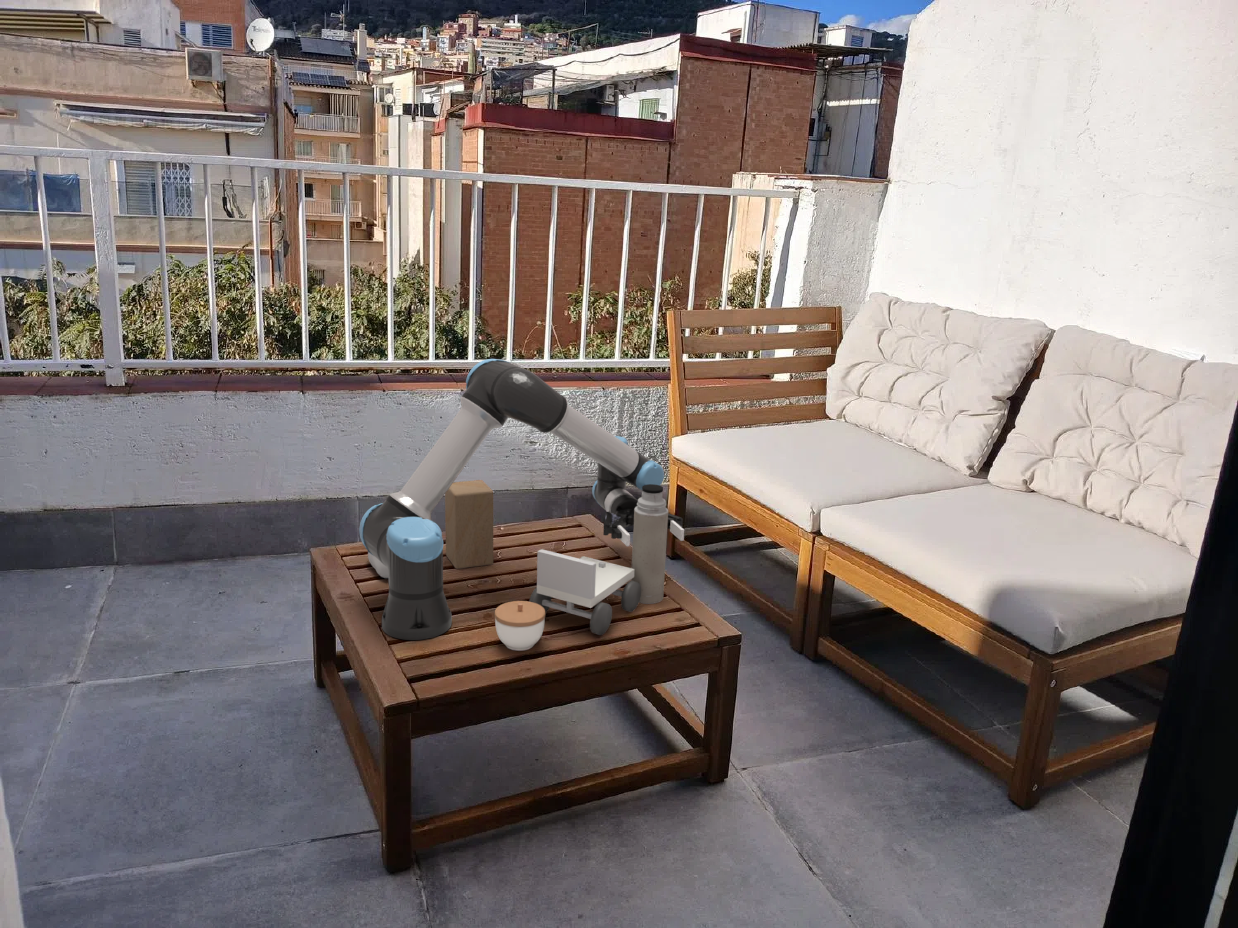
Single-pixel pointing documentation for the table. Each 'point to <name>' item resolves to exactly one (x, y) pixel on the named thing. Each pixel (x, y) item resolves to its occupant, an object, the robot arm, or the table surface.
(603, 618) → the trolley
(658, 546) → the thermos bottle
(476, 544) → the wooden block
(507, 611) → the lidded jar
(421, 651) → the table surface
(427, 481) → the robot arm
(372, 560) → the decorative stone
